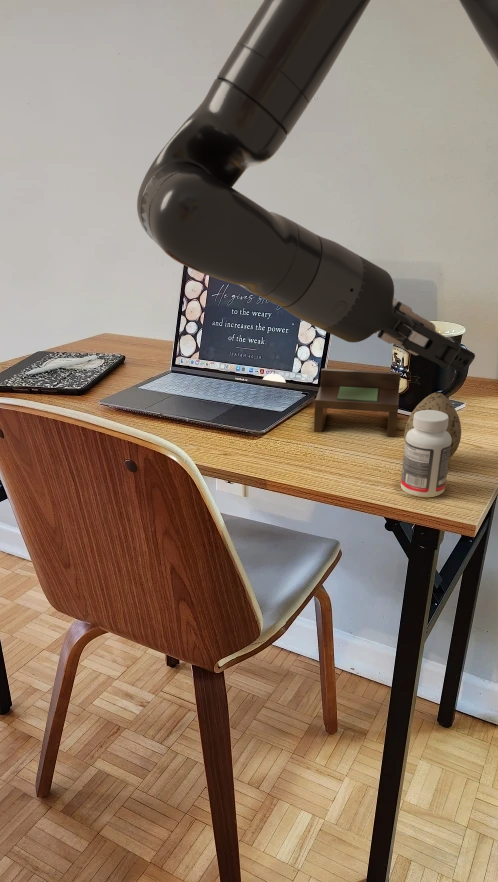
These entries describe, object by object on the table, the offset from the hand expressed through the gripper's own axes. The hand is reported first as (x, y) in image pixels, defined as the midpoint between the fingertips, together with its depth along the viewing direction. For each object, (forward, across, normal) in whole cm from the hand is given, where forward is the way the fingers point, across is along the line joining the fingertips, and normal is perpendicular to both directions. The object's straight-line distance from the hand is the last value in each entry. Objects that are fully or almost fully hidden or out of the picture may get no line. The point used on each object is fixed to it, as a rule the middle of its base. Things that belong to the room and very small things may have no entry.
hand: (444, 347), depth 74 cm
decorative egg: (+16, +7, +15) cm, 23 cm away
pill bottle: (+11, +1, +16) cm, 20 cm away
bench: (+15, +23, +17) cm, 33 cm away
